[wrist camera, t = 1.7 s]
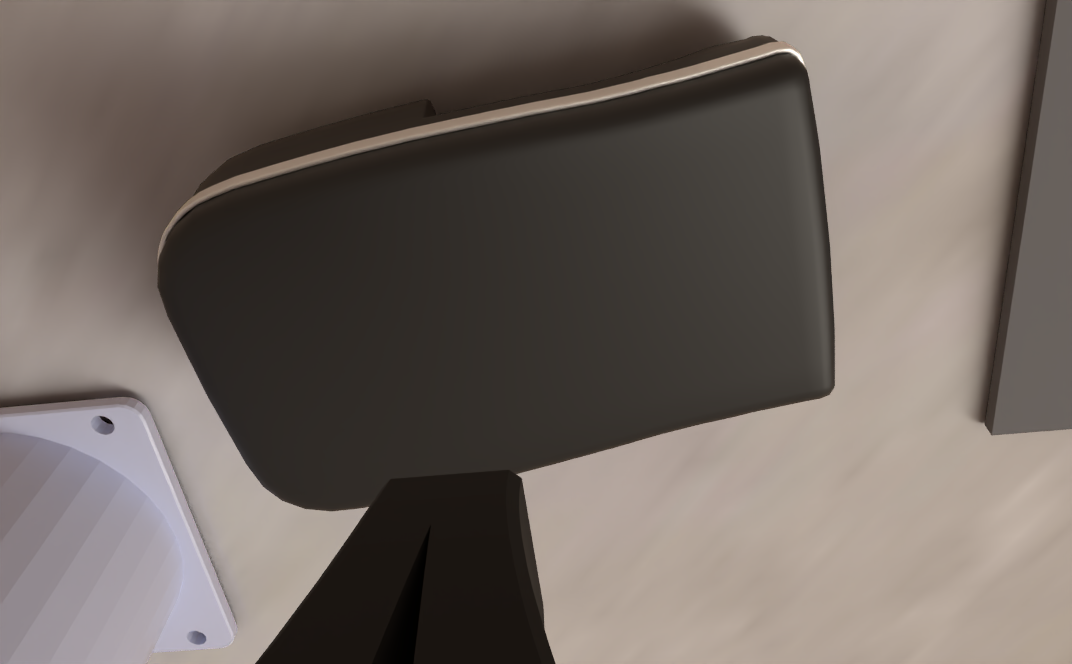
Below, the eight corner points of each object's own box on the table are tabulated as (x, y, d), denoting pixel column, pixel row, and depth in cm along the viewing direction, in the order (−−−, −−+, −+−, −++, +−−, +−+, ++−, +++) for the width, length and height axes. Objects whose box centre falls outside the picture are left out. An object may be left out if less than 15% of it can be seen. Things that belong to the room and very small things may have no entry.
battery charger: (756, -11, 17) (168, 144, 18) (825, 42, 14) (104, 228, 15) (791, 307, 21) (302, 424, 21) (852, 408, 17) (273, 542, 18)
